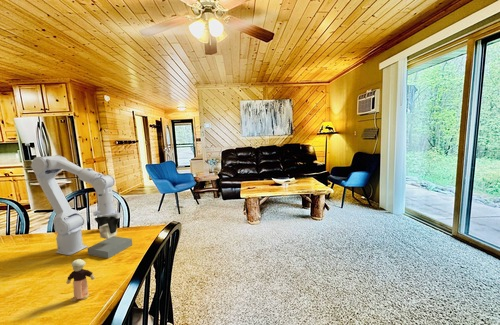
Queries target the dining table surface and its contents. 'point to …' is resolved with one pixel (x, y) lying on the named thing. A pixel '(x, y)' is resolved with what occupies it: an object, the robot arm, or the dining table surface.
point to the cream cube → (106, 231)
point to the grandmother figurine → (79, 280)
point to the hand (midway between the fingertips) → (109, 232)
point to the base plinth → (109, 247)
